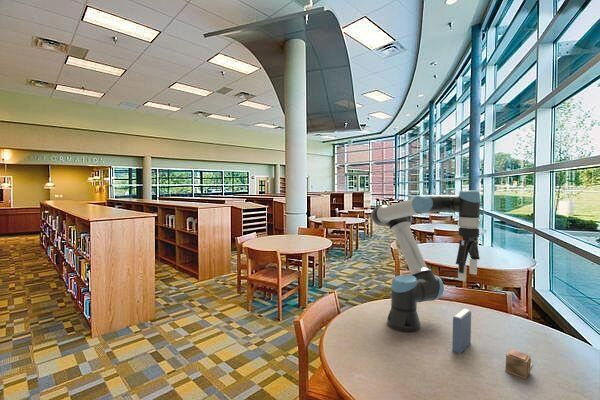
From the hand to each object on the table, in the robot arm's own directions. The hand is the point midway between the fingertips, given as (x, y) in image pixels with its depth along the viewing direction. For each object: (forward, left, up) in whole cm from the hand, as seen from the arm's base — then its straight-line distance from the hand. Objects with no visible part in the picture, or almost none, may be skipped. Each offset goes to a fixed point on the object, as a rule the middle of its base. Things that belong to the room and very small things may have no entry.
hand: (467, 277), depth 123 cm
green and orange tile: (+19, -7, -29) cm, 35 cm away
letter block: (+19, -7, -28) cm, 35 cm away
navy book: (0, -4, -29) cm, 29 cm away
